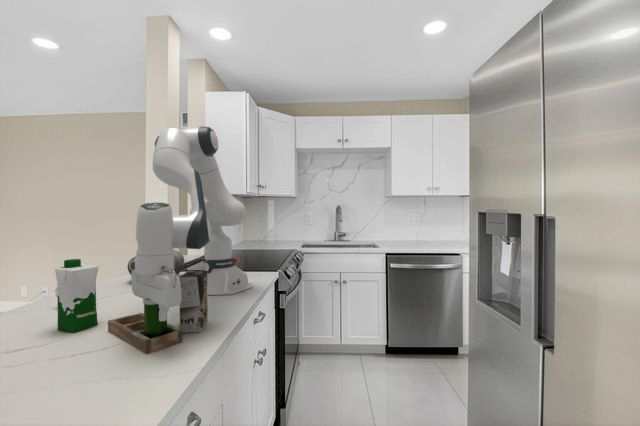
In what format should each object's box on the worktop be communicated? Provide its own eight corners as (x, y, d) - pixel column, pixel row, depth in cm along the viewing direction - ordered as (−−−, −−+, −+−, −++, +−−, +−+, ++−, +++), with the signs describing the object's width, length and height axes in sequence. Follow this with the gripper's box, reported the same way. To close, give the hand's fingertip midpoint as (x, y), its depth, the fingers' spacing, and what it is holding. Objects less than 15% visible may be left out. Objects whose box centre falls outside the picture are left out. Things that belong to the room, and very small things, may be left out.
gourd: (195, 274, 162) (188, 240, 161) (142, 292, 144) (133, 254, 143) (175, 273, 179) (168, 242, 178) (125, 288, 162) (117, 254, 161)
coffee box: (202, 332, 93) (202, 275, 93) (179, 333, 92) (178, 276, 92) (208, 321, 102) (208, 269, 102) (186, 322, 101) (186, 270, 101)
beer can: (145, 349, 81) (145, 301, 81) (143, 342, 86) (142, 297, 86) (168, 344, 84) (168, 298, 84) (165, 337, 89) (165, 294, 89)
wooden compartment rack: (141, 322, 101) (141, 312, 101) (182, 341, 86) (182, 329, 86) (108, 330, 94) (107, 319, 94) (146, 354, 79) (146, 340, 79)
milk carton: (82, 320, 102) (82, 257, 102) (103, 324, 99) (102, 259, 99) (51, 330, 94) (50, 261, 94) (72, 334, 91) (72, 263, 91)
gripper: (188, 267, 81) (188, 323, 81) (150, 259, 93) (150, 307, 94) (162, 271, 76) (162, 330, 76) (126, 262, 89) (126, 313, 89)
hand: (155, 317), depth 85 cm, fingers closed on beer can, 5 cm apart
